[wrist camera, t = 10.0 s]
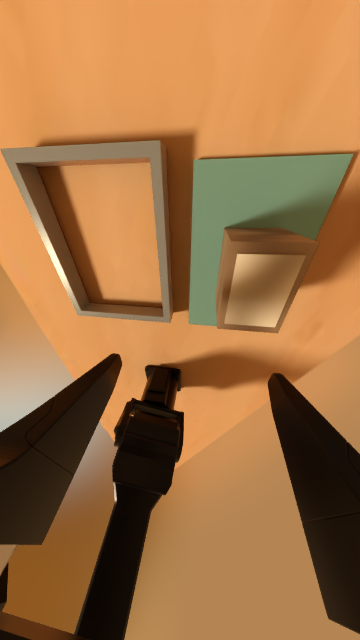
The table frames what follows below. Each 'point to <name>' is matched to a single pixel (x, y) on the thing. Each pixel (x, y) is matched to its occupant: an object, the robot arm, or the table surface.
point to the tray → (47, 224)
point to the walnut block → (259, 277)
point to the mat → (254, 209)
